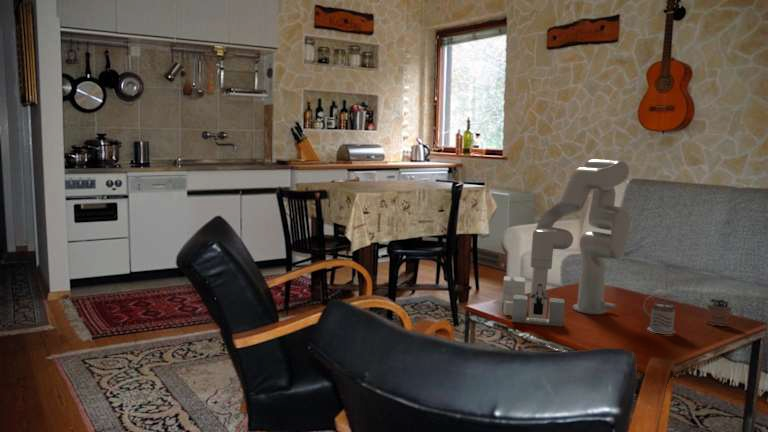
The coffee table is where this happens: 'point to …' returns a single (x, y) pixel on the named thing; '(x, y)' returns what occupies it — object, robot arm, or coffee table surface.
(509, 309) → the block
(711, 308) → the lighter
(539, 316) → the module
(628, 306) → the coffee table surface
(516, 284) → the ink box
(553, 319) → the grey u-shaped block
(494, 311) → the coffee table surface
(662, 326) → the french press
